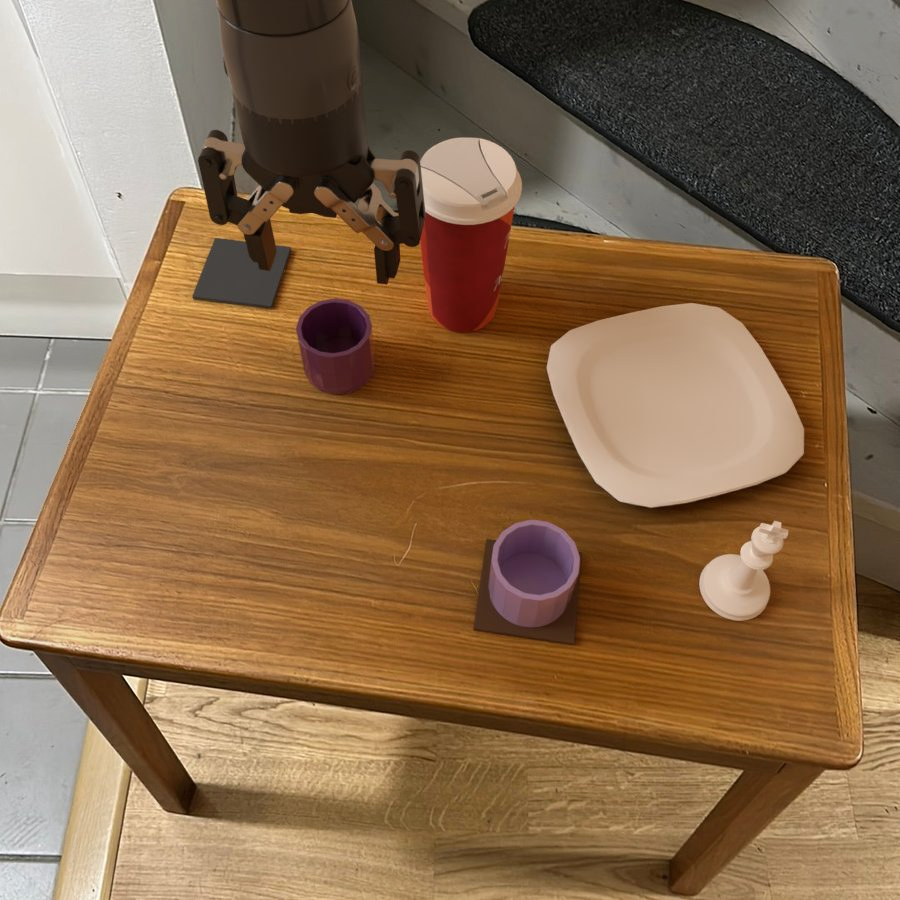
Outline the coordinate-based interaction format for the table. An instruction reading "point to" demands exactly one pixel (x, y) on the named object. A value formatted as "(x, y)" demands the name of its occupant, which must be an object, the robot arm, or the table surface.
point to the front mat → (495, 623)
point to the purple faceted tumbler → (336, 345)
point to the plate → (673, 405)
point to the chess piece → (742, 575)
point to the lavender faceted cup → (533, 573)
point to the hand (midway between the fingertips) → (326, 268)
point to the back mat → (239, 276)
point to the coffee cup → (466, 229)
